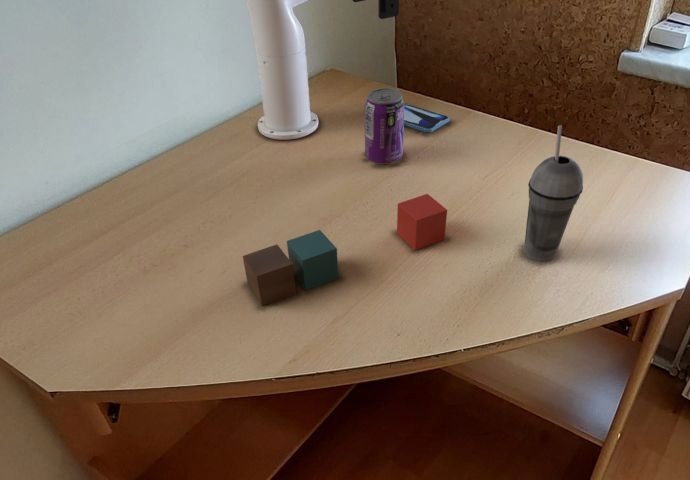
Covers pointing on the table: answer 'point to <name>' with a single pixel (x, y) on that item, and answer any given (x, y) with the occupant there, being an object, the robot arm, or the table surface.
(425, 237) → the block
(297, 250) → the block
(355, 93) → the table surface
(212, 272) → the table surface
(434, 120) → the smartphone
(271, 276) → the block
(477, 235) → the table surface
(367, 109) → the beverage can
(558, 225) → the beverage cup
